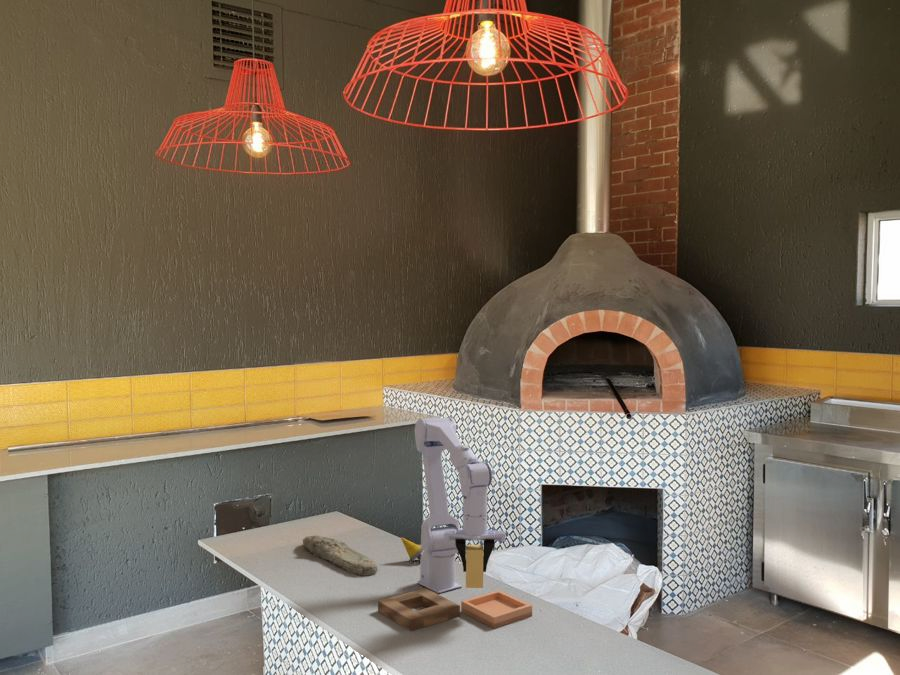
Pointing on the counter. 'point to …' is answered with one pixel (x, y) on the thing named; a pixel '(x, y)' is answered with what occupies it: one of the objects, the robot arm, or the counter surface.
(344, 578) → the counter surface
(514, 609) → the tray
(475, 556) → the peg
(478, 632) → the counter surface
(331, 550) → the long grey stone
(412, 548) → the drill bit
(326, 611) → the counter surface
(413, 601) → the socket block
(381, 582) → the counter surface
